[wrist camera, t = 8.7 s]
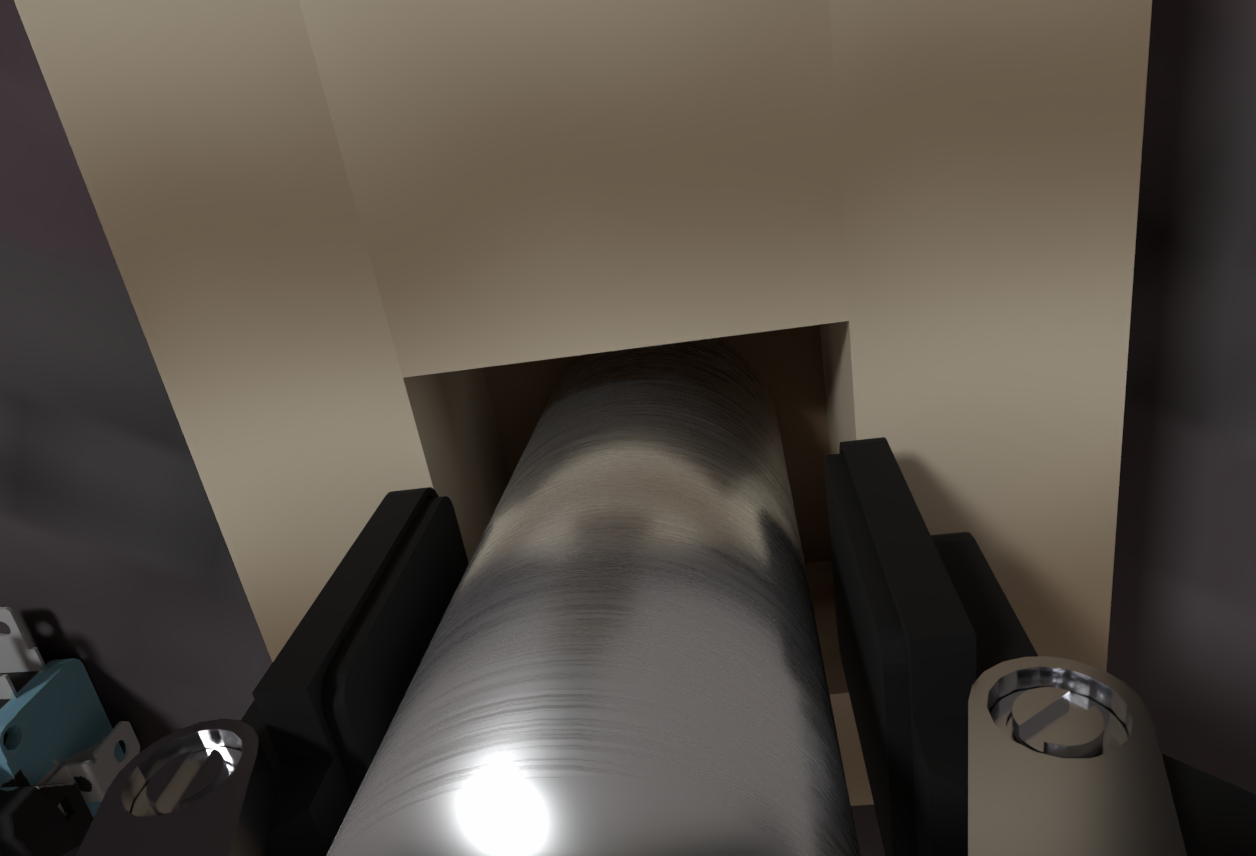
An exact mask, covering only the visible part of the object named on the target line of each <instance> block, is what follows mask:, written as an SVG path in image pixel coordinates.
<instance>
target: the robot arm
mask: <svg viewBox="0 0 1256 856" xmlns="http://www.w3.org/2000/svg"><path fill="white" fill-rule="evenodd" d="M824 469H825V482H826V495H827V507H828V520H829V533H830V545H831V558H832V571H833V584H834V596H835V609H836V622H837V633H838V642H839V649H840V655H841V660H842V665H843V669H844V674H845V678H846V682H847V687H848V691H849V696H850V700H851V705H852V709H853V713H854V718H855V722H856V727H857V731H858V736H859V740H860V744H861V749H862V753H863V758H864V762H865V767H866V771H867V775H868V780H869V784H870V789H871V793H872V797H873V802H874V806H875V811H876V815H877V820H878V824H879V828H880V833H881V837H882V842H883V846H884V851H885V855H886V856H1256V795H1255V794H1253V793H1250V792H1248V791H1246V790H1244V789H1241V788H1239V787H1237V786H1234V785H1232V784H1230V783H1228V782H1225V781H1223V780H1221V779H1218V778H1216V777H1214V776H1212V775H1209V774H1207V773H1205V772H1203V771H1200V770H1198V769H1196V768H1193V767H1191V766H1189V765H1187V764H1184V763H1182V762H1180V761H1177V760H1175V759H1173V758H1171V757H1168V756H1166V755H1164V754H1162V753H1161V749H1160V745H1159V741H1158V737H1157V733H1156V729H1155V725H1154V721H1153V718H1152V716H1151V714H1150V712H1149V710H1148V708H1147V706H1146V704H1145V702H1144V700H1143V699H1142V698H1141V697H1140V696H1139V695H1138V694H1137V693H1136V692H1135V691H1134V690H1133V689H1132V688H1131V687H1129V686H1128V685H1127V684H1126V683H1125V682H1123V681H1121V680H1119V679H1118V678H1116V677H1114V676H1113V675H1111V674H1109V673H1108V672H1106V671H1104V670H1102V669H1099V668H1096V667H1093V666H1091V665H1088V664H1085V663H1082V662H1079V661H1075V660H1069V659H1063V658H1057V657H1052V656H1044V657H1039V656H1038V654H1037V653H1036V651H1035V649H1034V647H1033V645H1032V643H1031V641H1030V640H1029V638H1028V636H1027V634H1026V632H1025V630H1024V629H1023V627H1022V625H1021V623H1020V621H1019V619H1018V618H1017V616H1016V614H1015V612H1014V610H1013V608H1012V606H1011V605H1010V603H1009V601H1008V599H1007V597H1006V595H1005V594H1004V592H1003V590H1002V588H1001V586H1000V584H999V583H998V581H997V579H996V577H995V575H994V573H993V571H992V570H991V568H990V566H989V564H988V562H987V560H986V559H985V557H984V555H983V553H982V551H981V549H980V548H979V546H978V544H977V542H976V540H975V539H974V537H973V536H972V534H971V533H969V532H957V533H947V534H936V535H930V533H929V531H928V529H927V526H926V524H925V522H924V520H923V518H922V515H921V513H920V511H919V509H918V507H917V505H916V502H915V500H914V498H913V496H912V494H911V491H910V489H909V487H908V485H907V483H906V481H905V478H904V476H903V474H902V472H901V470H900V468H899V465H898V463H897V461H896V459H895V457H894V454H893V452H892V450H891V448H890V446H889V444H888V441H887V439H886V438H885V437H881V438H872V439H863V440H854V441H845V442H840V445H839V454H830V455H824ZM468 565H469V562H468V558H467V555H466V551H465V547H464V543H463V540H462V536H461V532H460V528H459V525H458V521H457V517H456V514H455V510H454V507H453V504H452V501H451V500H450V498H449V497H447V496H443V497H439V496H438V494H437V492H436V491H435V490H434V489H433V488H432V487H427V488H418V489H409V490H400V491H391V492H389V493H388V494H387V495H386V496H385V497H384V499H383V500H382V502H381V503H380V505H379V506H378V508H377V509H376V511H375V512H374V514H373V515H372V516H371V518H370V519H369V521H368V522H367V524H366V525H365V527H364V528H363V530H362V531H361V533H360V534H359V536H358V537H357V539H356V540H355V542H354V543H353V545H352V546H351V548H350V549H349V551H348V552H347V553H346V555H345V556H344V558H343V559H342V561H341V562H340V564H339V565H338V567H337V568H336V570H335V571H334V573H333V574H332V576H331V577H330V579H329V580H328V582H327V583H326V585H325V586H324V588H323V589H322V590H321V592H320V593H319V595H318V596H317V598H316V599H315V601H314V602H313V604H312V605H311V607H310V608H309V610H308V611H307V613H306V614H305V616H304V617H303V619H302V620H301V622H300V623H299V625H298V626H297V627H296V629H295V630H294V632H293V633H292V635H291V636H290V638H289V639H288V641H287V642H286V644H285V645H284V647H283V648H282V650H281V651H280V653H279V654H278V656H277V657H276V659H275V660H274V661H273V663H272V664H271V666H270V667H269V669H268V670H267V672H266V673H265V675H264V676H263V678H262V679H261V681H260V682H259V684H258V685H257V687H256V688H255V690H254V691H253V693H252V694H253V696H254V699H255V700H254V701H253V703H252V704H251V706H250V707H249V709H248V710H247V712H246V713H245V715H244V716H243V718H242V719H241V721H240V720H231V719H217V720H210V721H203V722H199V723H196V724H193V725H190V726H188V727H185V728H182V729H179V730H177V731H175V732H173V733H171V734H169V735H167V736H165V737H163V738H161V739H159V740H157V741H156V742H154V743H153V744H151V745H150V746H149V747H147V748H146V749H144V750H143V751H142V752H140V753H139V754H137V755H136V756H135V757H134V758H133V759H132V760H131V761H130V762H129V763H128V764H127V765H126V766H125V767H124V768H123V769H122V770H121V771H120V772H119V773H118V774H117V776H116V777H115V779H114V780H113V782H112V783H111V785H110V786H109V788H108V789H107V791H106V793H105V796H104V798H103V800H102V802H101V804H100V806H99V808H98V810H97V812H96V814H95V816H94V819H93V821H92V823H91V825H90V827H89V829H88V831H87V833H86V835H85V837H84V839H83V842H82V844H81V845H80V846H78V847H76V848H74V849H73V850H71V851H69V852H67V853H66V854H64V855H62V856H326V855H327V853H328V851H329V849H330V847H331V845H332V843H333V841H334V839H335V837H336V835H337V833H338V831H339V829H340V826H341V824H342V822H343V820H344V818H345V816H346V814H347V812H348V810H349V808H350V806H351V804H352V802H353V800H354V798H355V796H356V794H357V792H358V790H359V788H360V786H361V784H362V781H363V779H364V777H365V775H366V773H367V771H368V769H369V767H370V765H371V763H372V761H373V759H374V757H375V755H376V753H377V751H378V749H379V747H380V745H381V743H382V741H383V739H384V736H385V734H386V732H387V730H388V728H389V726H390V724H391V722H392V720H393V718H394V716H395V714H396V712H397V710H398V708H399V706H400V704H401V702H402V700H403V698H404V696H405V694H406V692H407V689H408V687H409V685H410V683H411V681H412V679H413V677H414V675H415V673H416V671H417V669H418V667H419V665H420V663H421V661H422V659H423V657H424V655H425V653H426V651H427V649H428V647H429V644H430V642H431V640H432V638H433V636H434V634H435V632H436V630H437V628H438V626H439V624H440V622H441V620H442V618H443V616H444V614H445V612H446V610H447V608H448V606H449V604H450V602H451V599H452V597H453V595H454V593H455V591H456V589H457V587H458V585H459V583H460V581H461V579H462V577H463V575H464V573H465V571H466V569H467V567H468Z"/></svg>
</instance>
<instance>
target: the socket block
mask: <svg viewBox="0 0 1256 856" xmlns="http://www.w3.org/2000/svg"><path fill="white" fill-rule="evenodd" d="M14 2H15V4H16V7H17V9H18V12H19V15H20V17H21V20H22V22H23V25H24V27H25V30H26V32H27V35H28V38H29V40H30V43H31V45H32V48H33V50H34V53H35V55H36V58H37V61H38V63H39V66H40V68H41V71H42V73H43V76H44V79H45V81H46V84H47V86H48V89H49V91H50V94H51V96H52V99H53V102H54V104H55V107H56V109H57V112H58V114H59V117H60V119H61V122H62V125H63V127H64V130H65V132H66V135H67V137H68V140H69V142H70V145H71V148H72V150H73V153H74V155H75V158H76V160H77V163H78V166H79V168H80V171H81V173H82V176H83V178H84V181H85V183H86V186H87V189H88V191H89V194H90V196H91V199H92V201H93V204H94V206H95V209H96V212H97V214H98V217H99V219H100V222H101V224H102V227H103V229H104V232H105V235H106V237H107V240H108V242H109V245H110V247H111V250H112V253H113V255H114V258H115V260H116V263H117V265H118V268H119V270H120V273H121V276H122V278H123V281H124V283H125V286H126V288H127V291H128V293H129V296H130V299H131V301H132V304H133V306H134V309H135V311H136V314H137V317H138V319H139V322H140V324H141V327H142V329H143V332H144V334H145V337H146V340H147V342H148V345H149V347H150V350H151V352H152V355H153V357H154V360H155V363H156V365H157V368H158V370H159V373H160V375H161V378H162V380H163V383H164V386H165V388H166V391H167V393H168V396H169V398H170V401H171V404H172V406H173V409H174V411H175V414H176V416H177V419H178V421H179V424H180V427H181V429H182V432H183V434H184V437H185V439H186V442H187V444H188V447H189V450H190V452H191V455H192V457H193V460H194V462H195V465H196V467H197V470H198V473H199V475H200V478H201V480H202V483H203V485H204V488H205V491H206V493H207V496H208V498H209V501H210V503H211V506H212V508H213V511H214V514H215V516H216V519H217V521H218V524H219V526H220V529H221V531H222V534H223V537H224V539H225V542H226V544H227V547H228V549H229V552H230V554H231V557H232V560H233V562H234V565H235V567H236V570H237V572H238V575H239V578H240V580H241V583H242V585H243V588H244V590H245V593H246V595H247V598H248V601H249V603H250V606H251V608H252V611H253V613H254V616H255V618H256V621H257V624H258V626H259V629H260V631H261V634H262V636H263V639H264V642H265V644H266V647H267V649H268V652H269V654H270V657H271V659H272V662H273V661H274V660H275V659H276V657H277V656H278V654H279V653H280V651H281V650H282V648H283V647H284V645H285V644H286V642H287V641H288V639H289V638H290V636H291V635H292V633H293V632H294V630H295V629H296V627H297V626H298V625H299V623H300V622H301V620H302V619H303V617H304V616H305V614H306V613H307V611H308V610H309V608H310V607H311V605H312V604H313V602H314V601H315V599H316V598H317V596H318V595H319V593H320V592H321V590H322V589H323V588H324V586H325V585H326V583H327V582H328V580H329V579H330V577H331V576H332V574H333V573H334V571H335V570H336V568H337V567H338V565H339V564H340V562H341V561H342V559H343V558H344V556H345V555H346V553H347V552H348V551H349V549H350V548H351V546H352V545H353V543H354V542H355V540H356V539H357V537H358V536H359V534H360V533H361V531H362V530H363V528H364V527H365V525H366V524H367V522H368V521H369V519H370V518H371V516H372V515H373V514H374V512H375V511H376V509H377V508H378V506H379V505H380V503H381V502H382V500H383V499H384V497H385V496H386V495H387V494H388V493H389V492H391V491H400V490H409V489H418V488H427V487H432V488H433V489H434V490H435V491H436V492H437V494H438V496H439V497H443V496H447V497H449V498H450V500H451V501H452V504H453V507H454V510H455V514H456V517H457V521H458V525H459V528H460V532H461V536H462V540H463V543H464V547H465V551H466V555H467V558H468V562H469V563H470V561H471V559H472V557H473V555H474V552H475V550H476V548H477V546H478V544H479V542H480V540H481V538H482V536H483V534H484V532H485V530H486V528H487V526H488V524H489V522H490V520H491V518H492V516H493V514H494V512H495V510H496V507H497V505H498V503H499V501H500V499H501V497H502V495H503V493H504V491H505V489H506V487H507V485H508V483H509V481H510V479H511V477H512V475H513V473H514V471H515V469H516V467H517V465H518V462H519V460H520V458H521V456H522V454H523V452H524V450H525V448H526V446H527V444H528V442H529V440H530V438H531V436H532V434H533V432H534V430H535V428H536V426H537V424H538V422H539V420H540V417H541V415H542V413H543V411H544V409H545V407H546V405H547V403H548V401H549V399H550V397H551V395H552V393H553V391H554V389H555V387H556V385H557V383H558V381H559V380H560V378H561V377H562V375H563V373H564V372H565V370H566V369H567V368H568V367H569V366H570V365H571V364H572V362H573V361H574V360H575V359H576V358H577V357H578V356H580V355H585V354H593V353H601V352H609V351H617V350H624V349H632V348H640V347H648V346H656V345H664V344H671V343H679V342H687V341H695V340H703V339H711V338H715V339H717V340H719V341H721V342H723V343H724V344H726V345H727V346H729V347H730V348H732V349H733V350H735V351H736V352H737V353H738V354H739V355H741V356H742V357H743V358H744V359H745V360H746V361H747V362H748V363H749V364H750V365H751V366H752V367H753V369H754V370H755V371H756V372H757V373H758V375H759V376H760V378H761V379H762V381H763V382H764V384H765V386H766V388H767V390H768V392H769V394H770V396H771V398H772V401H773V404H774V408H775V411H776V415H777V420H778V426H779V431H780V436H781V441H782V447H783V452H784V457H785V462H786V468H787V473H788V478H789V484H790V489H791V494H792V499H793V505H794V510H795V515H796V520H797V526H798V531H799V536H800V541H801V547H802V552H803V557H804V562H805V568H806V573H807V578H808V584H809V589H810V594H811V599H812V605H813V610H814V615H815V620H816V626H817V631H818V636H819V641H820V647H821V652H822V657H823V662H824V668H825V673H826V678H827V684H828V689H829V694H830V699H831V705H832V710H833V715H834V720H835V726H836V731H837V736H838V741H839V747H840V752H841V757H842V762H843V768H844V773H845V778H846V784H847V789H848V794H849V799H850V805H851V806H857V805H874V802H873V797H872V793H871V789H870V784H869V780H868V775H867V771H866V767H865V762H864V758H863V753H862V749H861V744H860V740H859V736H858V731H857V727H856V722H855V718H854V713H853V709H852V705H851V700H850V696H849V691H848V687H847V682H846V678H845V674H844V669H843V665H842V660H841V655H840V649H839V642H838V633H837V622H836V609H835V596H834V584H833V571H832V558H831V545H830V533H829V520H828V507H827V495H826V482H825V469H824V455H830V454H839V445H840V442H845V441H854V440H863V439H872V438H881V437H885V438H886V439H887V441H888V444H889V446H890V448H891V450H892V452H893V454H894V457H895V459H896V461H897V463H898V465H899V468H900V470H901V472H902V474H903V476H904V478H905V481H906V483H907V485H908V487H909V489H910V491H911V494H912V496H913V498H914V500H915V502H916V505H917V507H918V509H919V511H920V513H921V515H922V518H923V520H924V522H925V524H926V526H927V529H928V531H929V533H930V535H936V534H947V533H957V532H969V533H971V534H972V536H973V537H974V539H975V540H976V542H977V544H978V546H979V548H980V549H981V551H982V553H983V555H984V557H985V559H986V560H987V562H988V564H989V566H990V568H991V570H992V571H993V573H994V575H995V577H996V579H997V581H998V583H999V584H1000V586H1001V588H1002V590H1003V592H1004V594H1005V595H1006V597H1007V599H1008V601H1009V603H1010V605H1011V606H1012V608H1013V610H1014V612H1015V614H1016V616H1017V618H1018V619H1019V621H1020V623H1021V625H1022V627H1023V629H1024V630H1025V632H1026V634H1027V636H1028V638H1029V640H1030V641H1031V643H1032V645H1033V647H1034V649H1035V651H1036V653H1037V654H1038V656H1039V657H1044V656H1052V657H1057V658H1063V659H1069V660H1075V661H1079V662H1082V663H1085V664H1088V665H1091V666H1093V667H1096V668H1099V669H1102V670H1104V671H1106V669H1107V655H1108V640H1109V625H1110V611H1111V596H1112V582H1113V567H1114V552H1115V538H1116V523H1117V508H1118V494H1119V479H1120V464H1121V450H1122V435H1123V420H1124V406H1125V391H1126V377H1127V362H1128V347H1129V333H1130V318H1131V303H1132V289H1133V274H1134V259H1135V245H1136V230H1137V215H1138V201H1139V186H1140V172H1141V157H1142V142H1143V128H1144V113H1145V98H1146V84H1147V69H1148V54H1149V40H1150V25H1151V10H1152V0H14Z"/></svg>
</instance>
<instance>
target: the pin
mask: <svg viewBox="0 0 1256 856" xmlns="http://www.w3.org/2000/svg"><path fill="white" fill-rule="evenodd" d="M326 856H860V852H859V847H858V841H857V836H856V831H855V826H854V820H853V815H852V810H851V805H850V799H849V794H848V789H847V784H846V778H845V773H844V768H843V762H842V757H841V752H840V747H839V741H838V736H837V731H836V726H835V720H834V715H833V710H832V705H831V699H830V694H829V689H828V684H827V678H826V673H825V668H824V662H823V657H822V652H821V647H820V641H819V636H818V631H817V626H816V620H815V615H814V610H813V605H812V599H811V594H810V589H809V584H808V578H807V573H806V568H805V562H804V557H803V552H802V547H801V541H800V536H799V531H798V526H797V520H796V515H795V510H794V505H793V499H792V494H791V489H790V484H789V478H788V473H787V468H786V462H785V457H784V452H783V447H782V441H781V436H780V431H779V426H778V420H777V415H776V411H775V408H774V404H773V401H772V398H771V396H770V394H769V392H768V390H767V388H766V386H765V384H764V382H763V381H762V379H761V378H760V376H759V375H758V373H757V372H756V371H755V370H754V369H753V367H752V366H751V365H750V364H749V363H748V362H747V361H746V360H745V359H744V358H743V357H742V356H741V355H739V354H738V353H737V352H736V351H735V350H733V349H732V348H730V347H729V346H727V345H726V344H724V343H723V342H721V341H719V340H717V339H715V338H711V339H703V340H695V341H687V342H679V343H671V344H664V345H656V346H648V347H640V348H632V349H624V350H617V351H609V352H601V353H593V354H585V355H580V356H578V357H577V358H576V359H575V360H574V361H573V362H572V364H571V365H570V366H569V367H568V368H567V369H566V370H565V372H564V373H563V375H562V377H561V378H560V380H559V381H558V383H557V385H556V387H555V389H554V391H553V393H552V395H551V397H550V399H549V401H548V403H547V405H546V407H545V409H544V411H543V413H542V415H541V417H540V420H539V422H538V424H537V426H536V428H535V430H534V432H533V434H532V436H531V438H530V440H529V442H528V444H527V446H526V448H525V450H524V452H523V454H522V456H521V458H520V460H519V462H518V465H517V467H516V469H515V471H514V473H513V475H512V477H511V479H510V481H509V483H508V485H507V487H506V489H505V491H504V493H503V495H502V497H501V499H500V501H499V503H498V505H497V507H496V510H495V512H494V514H493V516H492V518H491V520H490V522H489V524H488V526H487V528H486V530H485V532H484V534H483V536H482V538H481V540H480V542H479V544H478V546H477V548H476V550H475V552H474V555H473V557H472V559H471V561H470V563H469V565H468V567H467V569H466V571H465V573H464V575H463V577H462V579H461V581H460V583H459V585H458V587H457V589H456V591H455V593H454V595H453V597H452V599H451V602H450V604H449V606H448V608H447V610H446V612H445V614H444V616H443V618H442V620H441V622H440V624H439V626H438V628H437V630H436V632H435V634H434V636H433V638H432V640H431V642H430V644H429V647H428V649H427V651H426V653H425V655H424V657H423V659H422V661H421V663H420V665H419V667H418V669H417V671H416V673H415V675H414V677H413V679H412V681H411V683H410V685H409V687H408V689H407V692H406V694H405V696H404V698H403V700H402V702H401V704H400V706H399V708H398V710H397V712H396V714H395V716H394V718H393V720H392V722H391V724H390V726H389V728H388V730H387V732H386V734H385V736H384V739H383V741H382V743H381V745H380V747H379V749H378V751H377V753H376V755H375V757H374V759H373V761H372V763H371V765H370V767H369V769H368V771H367V773H366V775H365V777H364V779H363V781H362V784H361V786H360V788H359V790H358V792H357V794H356V796H355V798H354V800H353V802H352V804H351V806H350V808H349V810H348V812H347V814H346V816H345V818H344V820H343V822H342V824H341V826H340V829H339V831H338V833H337V835H336V837H335V839H334V841H333V843H332V845H331V847H330V849H329V851H328V853H327V855H326Z"/></svg>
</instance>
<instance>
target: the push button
mask: <svg viewBox="0 0 1256 856" xmlns="http://www.w3.org/2000/svg"><path fill="white" fill-rule="evenodd" d="M0 621H1V622H4V623H6V624H7V625H8V626H9V627H10V629H11V633H10V634H3V633H1V632H0V856H62V855H64V854H66V853H67V852H69V851H71V850H73V849H74V848H76V847H78V846H80V845H81V844H82V842H83V839H84V837H85V835H86V833H87V831H88V829H89V827H90V825H91V823H92V821H93V819H94V816H95V814H96V812H97V810H98V808H99V806H100V804H101V802H102V800H103V798H104V796H105V793H106V791H107V789H108V788H109V786H110V785H111V783H112V782H113V780H114V779H115V777H116V776H117V774H118V773H119V772H120V771H121V770H122V769H123V768H124V767H125V766H126V765H127V764H128V763H129V762H130V761H131V760H132V759H133V758H134V757H135V756H136V755H137V754H139V751H140V745H139V742H138V740H137V738H136V736H135V733H134V731H133V729H132V726H131V724H130V722H127V721H120V722H119V723H118V724H117V725H116V726H115V727H114V729H113V728H112V726H111V724H110V722H109V720H108V717H107V715H106V713H105V711H104V709H103V706H102V704H101V702H100V700H99V698H98V695H97V693H96V691H95V689H94V687H93V684H92V682H91V680H90V678H89V676H88V673H87V671H86V669H85V667H84V665H83V663H82V662H81V661H80V660H79V659H56V660H43V659H42V657H41V655H40V652H39V650H38V648H37V647H30V645H29V643H28V641H27V639H26V636H25V634H24V632H23V630H22V628H21V626H20V624H19V622H18V620H17V618H16V616H15V614H14V611H13V610H12V609H10V608H9V607H0ZM120 740H123V741H124V743H125V746H126V751H125V755H124V753H123V750H122V748H121V746H120V744H119V741H120Z"/></svg>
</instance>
